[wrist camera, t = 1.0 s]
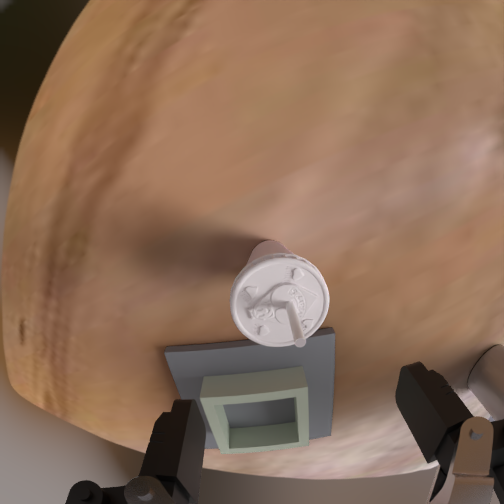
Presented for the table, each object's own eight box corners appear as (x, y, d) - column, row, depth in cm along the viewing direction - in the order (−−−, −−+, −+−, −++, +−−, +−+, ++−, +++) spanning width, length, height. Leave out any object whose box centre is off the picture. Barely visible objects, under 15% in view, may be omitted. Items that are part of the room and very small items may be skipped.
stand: (332, 327, 29) (344, 352, 25) (329, 429, 34) (335, 453, 30) (166, 346, 30) (155, 372, 25) (203, 442, 35) (200, 467, 30)
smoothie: (309, 281, 28) (356, 373, 14) (246, 298, 28) (244, 401, 15) (295, 217, 26) (343, 269, 13) (226, 236, 26) (205, 305, 13)
